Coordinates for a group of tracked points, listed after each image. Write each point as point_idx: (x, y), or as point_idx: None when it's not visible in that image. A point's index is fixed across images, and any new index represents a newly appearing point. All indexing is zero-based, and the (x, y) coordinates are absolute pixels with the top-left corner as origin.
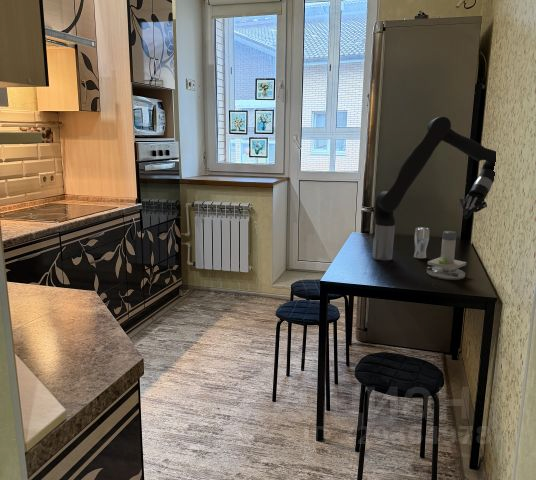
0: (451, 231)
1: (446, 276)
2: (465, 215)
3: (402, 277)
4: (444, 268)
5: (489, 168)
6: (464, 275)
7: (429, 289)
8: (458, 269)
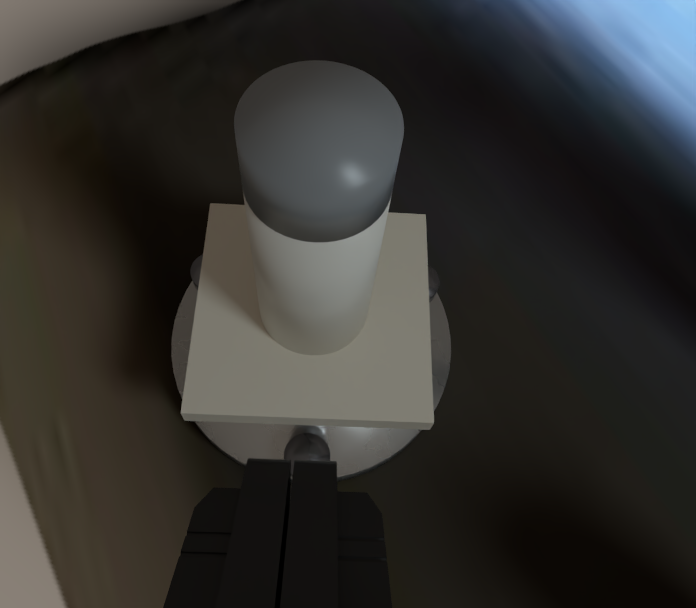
0: (327, 173)
1: None
2: (272, 459)
3: (457, 103)
4: None
5: None
6: (172, 357)
7: (244, 32)
8: None
